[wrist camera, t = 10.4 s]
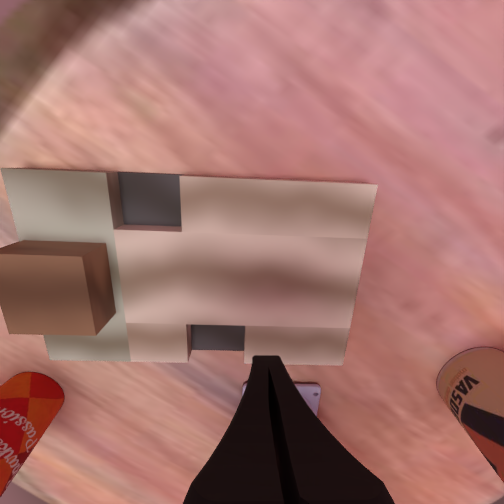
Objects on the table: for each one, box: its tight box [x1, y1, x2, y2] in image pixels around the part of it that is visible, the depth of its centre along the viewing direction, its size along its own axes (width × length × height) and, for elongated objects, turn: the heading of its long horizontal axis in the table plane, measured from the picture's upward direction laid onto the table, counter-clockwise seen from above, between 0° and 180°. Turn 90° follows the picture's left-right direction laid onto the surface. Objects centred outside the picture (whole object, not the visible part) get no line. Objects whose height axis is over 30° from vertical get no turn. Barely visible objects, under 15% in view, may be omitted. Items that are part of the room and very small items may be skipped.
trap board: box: [1, 168, 378, 366], centre depth 21 cm, size 16×26×2 cm, turn 87°
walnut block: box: [0, 240, 116, 336], centre depth 19 cm, size 6×6×3 cm
